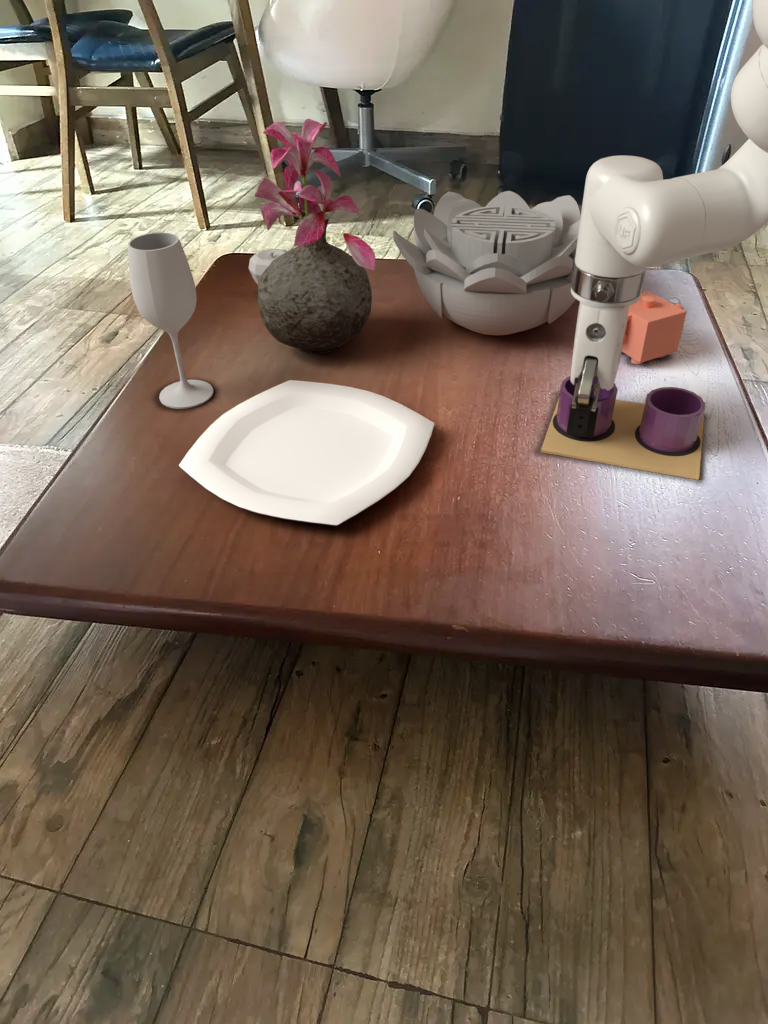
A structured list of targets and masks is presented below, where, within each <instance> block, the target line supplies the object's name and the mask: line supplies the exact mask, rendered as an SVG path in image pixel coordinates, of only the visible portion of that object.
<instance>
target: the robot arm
mask: <svg viewBox="0 0 768 1024" xmlns="http://www.w3.org/2000/svg"><path fill="white" fill-rule="evenodd" d="M751 9H752V12H751V13H752V22H753V26H754V30H755V33H756V34H757V35H756V36H757V37H758V38H759V40H760V42H761V43H762V44H761V45H760V46H759V48H757V50H756V51H755V52H754V53H753V55H752V56H751V57H749V59H748V60H747V61H746V62H745V63H744V65H743V66H742V67H741V69H740V70H739V71H738V73H737V74H736V76H735V78H734V80H733V83H732V86H731V89H730V105H731V110H732V113H733V117H734V119H735V121H736V123H737V125H738V127H739V128H740V129H741V131H742V132H743V133H744V135H745V136H746V137H747V138H748V139H747V140H746V141H745V142H744V144H742V146H741V147H739V148H738V150H737V151H735V153H734V154H733V155H732V156H730V158H729V159H727V161H726V162H724V164H722V165H721V166H719V167H718V168H716V169H712V170H707V171H706V170H705V171H701V172H696V173H692V174H691V173H690V174H685V175H681V176H676V177H672V178H667V179H666V178H665V179H664V175H663V170H662V168H661V167H660V165H659V164H658V163H657V162H655V161H654V160H651V159H648V158H645V157H642V156H637V155H624V154H623V155H611V156H606V157H601V158H599V159H598V160H596V161H595V162H593V163H592V165H591V166H590V167H589V169H588V171H587V174H586V176H585V183H584V189H583V196H582V197H583V198H582V203H581V204H582V205H581V211H580V226H579V233H578V241H577V248H576V255H575V263H574V270H573V278H572V286H571V294H572V296H573V297H574V298H575V299H576V300H577V301H578V302H579V305H578V311H577V317H576V318H577V319H576V326H575V333H574V341H573V349H572V357H571V367H570V368H571V369H570V376H571V378H570V381H571V383H572V384H573V385H575V384H576V386H575V392H574V397H573V402H572V404H571V405H570V412H569V418H568V425H567V434H570V435H575V436H581V437H587V438H592V437H593V436H594V431H595V426H596V420H597V414H598V409H599V408H597V401H598V396H599V391H600V388H601V389H606V390H610V389H612V388H613V386H614V383H615V382H616V378H617V374H618V370H619V366H620V362H621V356H622V352H621V351H622V346H623V341H624V336H625V330H626V325H627V319H628V313H629V305H632V304H634V303H636V302H637V301H638V300H639V299H640V296H641V292H643V291H642V290H643V285H644V280H645V275H646V270H647V269H648V268H655V267H656V268H657V267H661V266H666V265H668V264H673V263H677V262H682V261H685V260H687V259H691V258H695V257H699V256H704V255H708V254H713V253H716V252H722V251H724V250H728V249H731V248H733V247H735V246H738V245H739V244H741V243H743V242H745V241H746V240H747V239H749V238H751V237H752V236H753V235H754V234H757V232H758V231H759V230H761V229H762V228H763V227H764V226H765V225H767V224H768V0H752V1H751ZM581 376H582V380H581ZM594 378H596V379H598V383H597V384H596V383H593V379H594ZM580 380H581V381H580ZM591 389H595V391H594V396H593V398H592V396H590V395H591Z"/></svg>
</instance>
